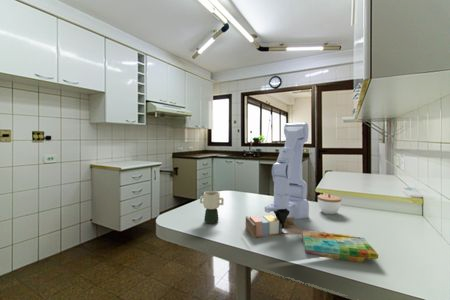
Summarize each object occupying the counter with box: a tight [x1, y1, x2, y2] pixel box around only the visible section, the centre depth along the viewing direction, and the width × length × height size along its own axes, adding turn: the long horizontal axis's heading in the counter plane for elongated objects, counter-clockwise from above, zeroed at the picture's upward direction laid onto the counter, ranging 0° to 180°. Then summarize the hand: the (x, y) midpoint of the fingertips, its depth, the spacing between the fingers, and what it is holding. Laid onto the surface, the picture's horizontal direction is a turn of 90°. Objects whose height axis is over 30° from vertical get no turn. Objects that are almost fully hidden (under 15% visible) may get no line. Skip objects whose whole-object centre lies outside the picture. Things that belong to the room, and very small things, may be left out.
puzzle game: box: [301, 229, 379, 263], centre depth 71 cm, size 12×5×20 cm
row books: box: [249, 215, 269, 237], centre depth 83 cm, size 5×6×6 cm
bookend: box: [279, 222, 289, 234], centre depth 85 cm, size 4×6×4 cm, turn 13°
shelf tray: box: [245, 216, 302, 239], centre depth 85 cm, size 21×9×6 cm, turn 103°
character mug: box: [199, 190, 225, 224], centre depth 95 cm, size 11×7×13 cm, turn 75°
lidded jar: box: [317, 193, 342, 215], centre depth 109 cm, size 11×11×9 cm
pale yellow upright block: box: [262, 214, 279, 235], centre depth 85 cm, size 4×6×5 cm, turn 13°
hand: (280, 227), depth 85 cm, fingers closed
